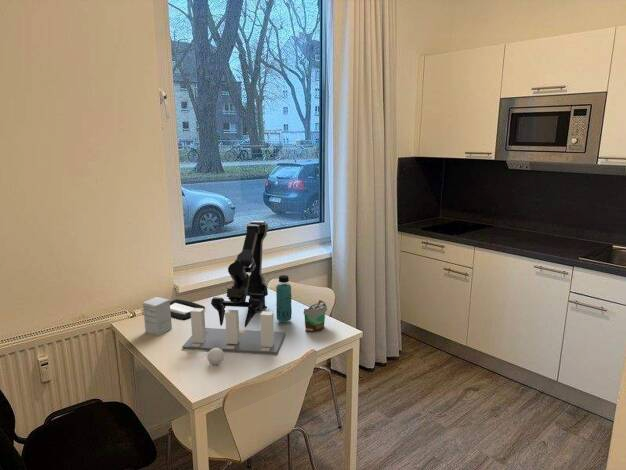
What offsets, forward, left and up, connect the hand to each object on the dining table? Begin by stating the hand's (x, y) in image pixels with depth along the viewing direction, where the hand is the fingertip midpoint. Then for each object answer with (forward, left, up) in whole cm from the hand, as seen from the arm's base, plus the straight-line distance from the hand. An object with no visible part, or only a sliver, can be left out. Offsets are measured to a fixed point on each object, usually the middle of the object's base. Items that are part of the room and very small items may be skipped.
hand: (233, 326), depth 158 cm
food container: (-33, +9, -8) cm, 35 cm away
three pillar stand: (-2, -2, -7) cm, 8 cm away
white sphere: (+12, +8, -8) cm, 16 cm away
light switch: (+4, -43, -8) cm, 43 cm away
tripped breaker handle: (+1, +1, -6) cm, 6 cm away
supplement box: (+18, -29, -8) cm, 35 cm away
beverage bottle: (-26, -5, -8) cm, 27 cm away
